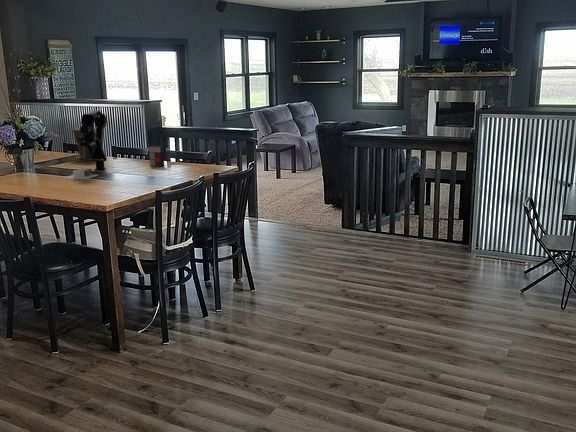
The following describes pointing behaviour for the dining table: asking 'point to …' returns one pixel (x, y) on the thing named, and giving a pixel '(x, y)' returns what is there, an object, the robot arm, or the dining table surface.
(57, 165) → the dining table surface
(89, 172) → the walnut block
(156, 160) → the red and grey box
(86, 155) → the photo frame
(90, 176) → the mat
